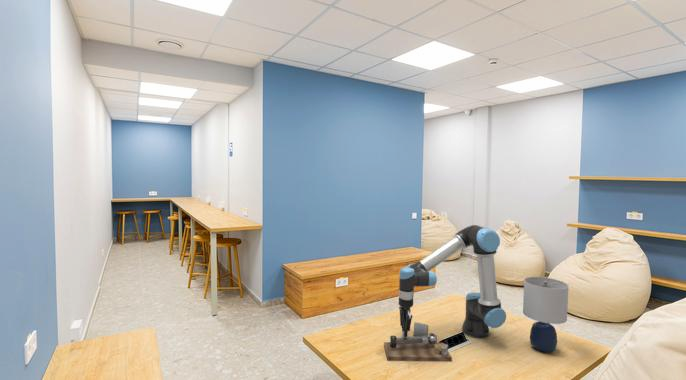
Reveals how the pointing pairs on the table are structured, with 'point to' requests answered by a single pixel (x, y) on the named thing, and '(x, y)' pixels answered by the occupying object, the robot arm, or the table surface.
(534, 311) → the lamp
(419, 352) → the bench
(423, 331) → the ceramic mug
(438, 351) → the tan wooden cylinder
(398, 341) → the lever
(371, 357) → the table surface
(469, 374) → the table surface
